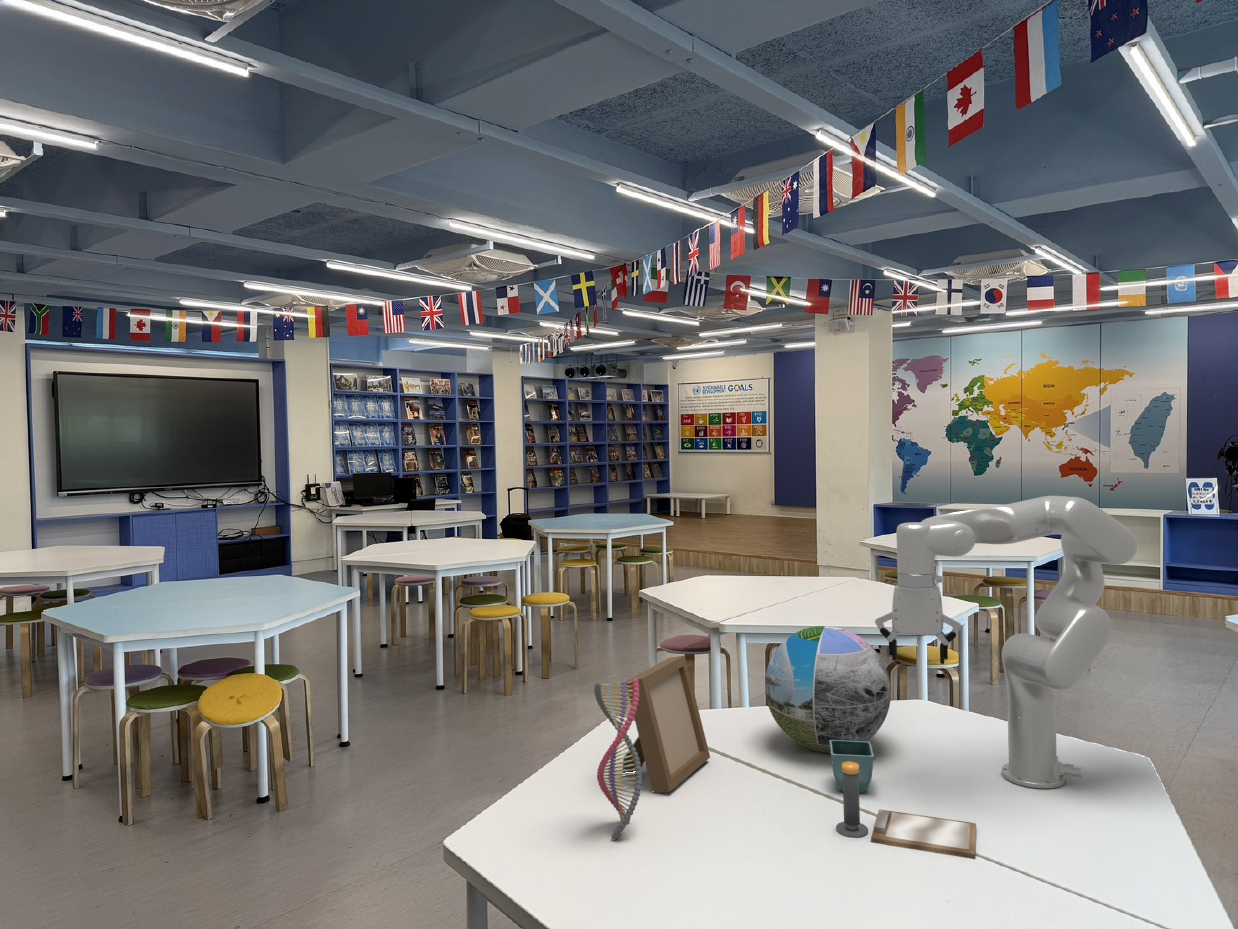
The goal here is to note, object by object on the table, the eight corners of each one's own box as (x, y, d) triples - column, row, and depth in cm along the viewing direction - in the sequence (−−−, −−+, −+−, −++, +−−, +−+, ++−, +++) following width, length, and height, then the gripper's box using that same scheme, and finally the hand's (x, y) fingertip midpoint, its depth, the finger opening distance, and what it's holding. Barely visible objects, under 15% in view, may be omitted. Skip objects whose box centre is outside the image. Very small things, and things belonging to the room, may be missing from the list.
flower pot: (875, 798, 175) (874, 755, 175) (832, 795, 177) (831, 754, 177) (871, 781, 184) (870, 741, 184) (830, 779, 186) (829, 739, 185)
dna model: (649, 823, 166) (645, 675, 166) (635, 844, 158) (631, 688, 157) (607, 818, 169) (603, 672, 169) (591, 838, 161) (587, 685, 160)
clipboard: (976, 827, 161) (976, 818, 160) (975, 858, 149) (974, 848, 149) (879, 813, 168) (879, 804, 168) (871, 841, 156) (870, 832, 156)
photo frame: (710, 761, 198) (706, 657, 198) (670, 796, 179) (664, 681, 179) (655, 752, 205) (650, 652, 205) (611, 785, 186) (606, 674, 186)
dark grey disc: (870, 826, 162) (870, 824, 162) (865, 839, 157) (865, 837, 157) (838, 821, 165) (838, 819, 165) (833, 834, 159) (833, 832, 159)
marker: (861, 826, 162) (860, 762, 161) (859, 833, 159) (857, 768, 158) (844, 823, 163) (843, 760, 163) (842, 830, 160) (840, 766, 160)
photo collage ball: (796, 720, 225) (793, 610, 224) (908, 741, 207) (905, 621, 207) (745, 756, 201) (742, 633, 200) (867, 782, 183) (864, 647, 183)
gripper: (960, 579, 176) (962, 659, 177) (876, 576, 183) (878, 653, 184) (959, 585, 169) (961, 668, 170) (871, 582, 177) (873, 662, 177)
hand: (918, 660), depth 177 cm, fingers open, 9 cm apart
